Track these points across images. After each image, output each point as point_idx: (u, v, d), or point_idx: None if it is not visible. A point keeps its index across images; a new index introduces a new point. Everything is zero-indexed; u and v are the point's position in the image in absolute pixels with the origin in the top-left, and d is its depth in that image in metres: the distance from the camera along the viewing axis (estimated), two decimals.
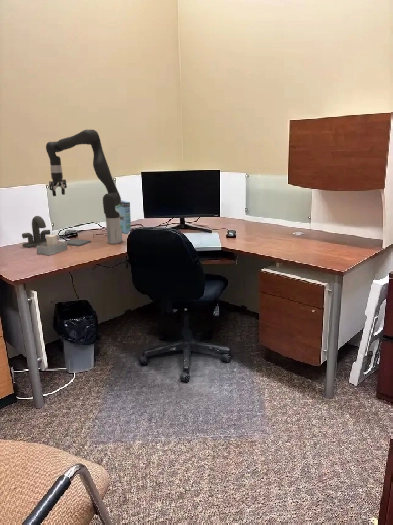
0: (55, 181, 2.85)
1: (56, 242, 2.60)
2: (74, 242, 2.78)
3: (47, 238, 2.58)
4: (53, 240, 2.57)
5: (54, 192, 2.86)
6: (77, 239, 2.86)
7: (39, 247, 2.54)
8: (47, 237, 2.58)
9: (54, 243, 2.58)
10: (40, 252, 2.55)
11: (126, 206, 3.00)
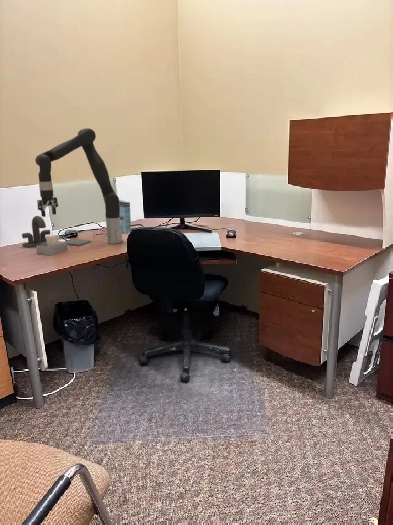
0: (44, 200, 2.49)
1: (56, 242, 2.60)
2: (74, 242, 2.78)
3: (47, 238, 2.58)
4: (53, 240, 2.57)
5: (43, 212, 2.50)
6: (77, 239, 2.86)
7: (39, 247, 2.54)
8: (47, 237, 2.58)
9: (54, 243, 2.58)
10: (40, 252, 2.55)
11: (126, 206, 3.00)
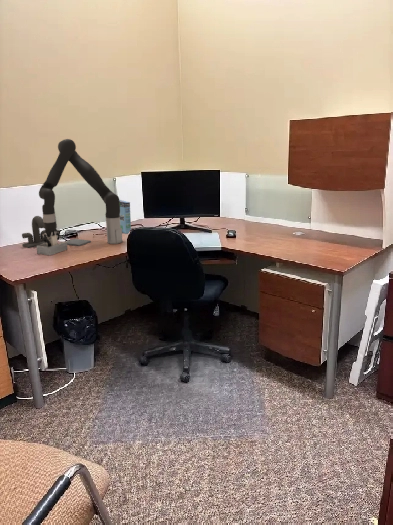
0: (48, 232, 2.55)
1: (56, 242, 2.60)
2: (74, 242, 2.78)
3: None
4: (53, 240, 2.57)
5: (50, 244, 2.57)
6: (77, 239, 2.86)
7: (39, 247, 2.54)
8: None
9: (54, 243, 2.58)
10: (40, 252, 2.55)
11: (126, 206, 3.00)
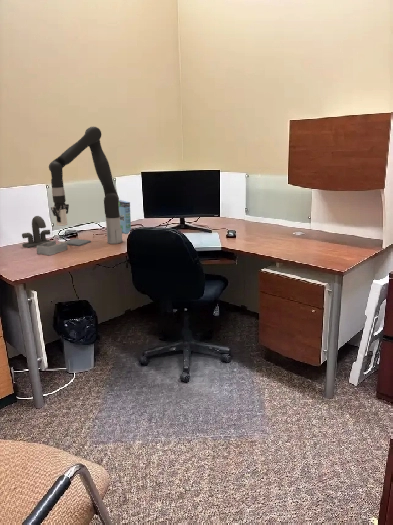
0: (57, 205, 2.59)
1: (65, 216, 2.64)
2: (74, 242, 2.78)
3: None
4: (62, 213, 2.61)
5: (59, 218, 2.61)
6: (77, 239, 2.86)
7: (39, 247, 2.54)
8: None
9: (63, 216, 2.62)
10: (40, 252, 2.55)
11: (126, 206, 3.00)
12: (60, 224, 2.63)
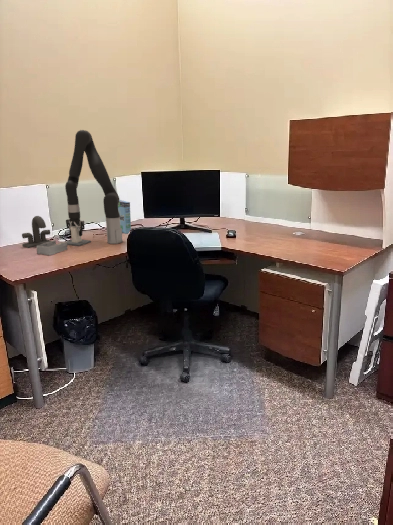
0: (70, 220, 2.76)
1: (74, 234, 2.76)
2: (74, 242, 2.78)
3: None
4: (71, 231, 2.77)
5: (70, 231, 2.79)
6: None
7: (39, 247, 2.54)
8: None
9: (72, 234, 2.77)
10: (40, 252, 2.55)
11: (126, 206, 3.00)
12: None
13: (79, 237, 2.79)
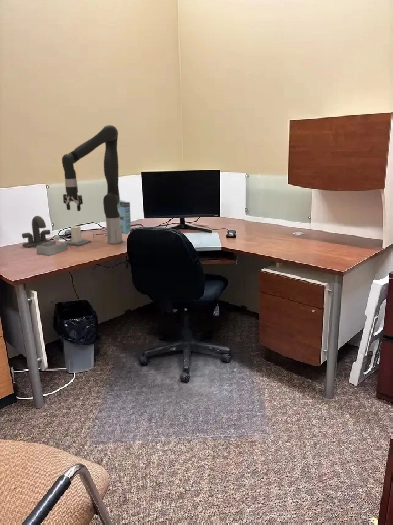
0: (67, 195, 2.71)
1: (74, 234, 2.76)
2: (74, 242, 2.78)
3: None
4: (71, 231, 2.77)
5: (67, 206, 2.75)
6: None
7: (39, 247, 2.54)
8: None
9: (72, 234, 2.77)
10: (40, 252, 2.55)
11: (126, 206, 3.00)
12: None
13: (79, 237, 2.79)
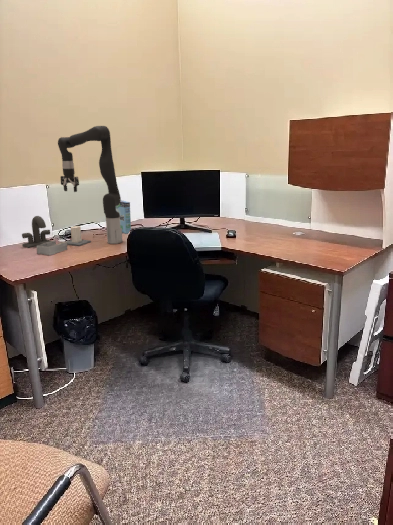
0: (64, 176, 2.86)
1: (74, 234, 2.76)
2: (74, 242, 2.78)
3: None
4: (71, 231, 2.77)
5: (64, 187, 2.89)
6: None
7: (39, 247, 2.54)
8: None
9: (72, 234, 2.77)
10: (40, 252, 2.55)
11: (126, 206, 3.00)
12: None
13: (79, 237, 2.79)
